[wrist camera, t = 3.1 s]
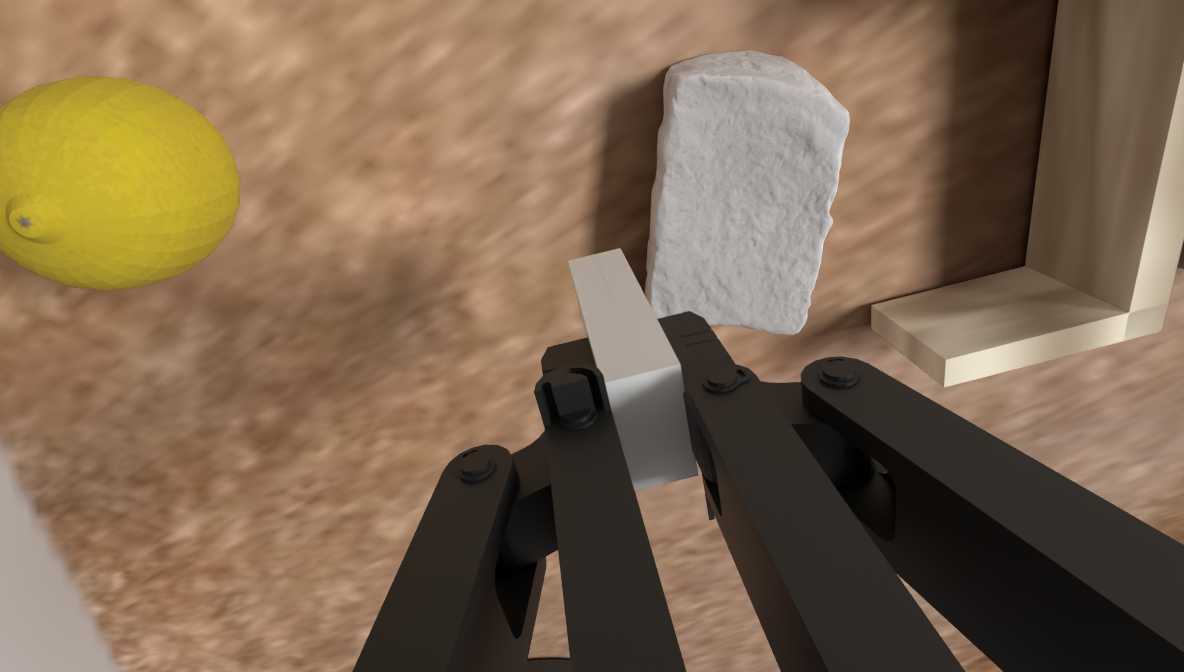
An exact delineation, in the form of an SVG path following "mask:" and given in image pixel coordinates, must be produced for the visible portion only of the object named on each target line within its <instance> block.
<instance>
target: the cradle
mask: <svg viewBox="0 0 1184 672" xmlns="http://www.w3.org/2000/svg"><path fill="white" fill-rule="evenodd" d="M1183 240H1184V0H1059V1H1058V9H1057V17H1056V25H1055V33H1054V41H1053V49H1052V57H1051V65H1050V73H1049V81H1048V88H1047V96H1046V104H1045V112H1044V120H1043V128H1042V136H1041V144H1040V152H1039V160H1038V168H1037V176H1036V184H1035V192H1034V200H1033V208H1032V215H1031V223H1030V231H1029V239H1028V247H1027V255H1026V263H1025V266H1024V267H1020V268H1016V269H1012V270H1008V271H1004V272H1000V273H996V274H992V275H988V276H984V277H980V278H976V279H973V280H969V281H965V282H961V283H957V284H953V285H949V286H945V287H941V288H937V289H933V290H929V291H925V292H921V293H917V294H913V295H910V296H906V297H902V298H898V299H894V300H890V301H886V302H882V303H878V304H874V305H871V330H873V331H874V332H875V333H876V334H878V335H879V336H880V337H881V338H883V339H884V340H885V341H886V342H888V343H889V344H890V345H891V346H893V347H894V348H895V349H896V350H898V351H899V352H900V353H902V354H903V355H904V356H905V357H907V358H908V359H909V360H910V361H912V362H913V363H914V364H915V365H917V366H918V367H919V368H920V369H922V370H923V371H924V372H925V373H927V374H928V375H929V376H930V377H932V378H933V379H934V380H935V381H937V382H938V383H939V384H940V385H942V386H943V387H948V386H951V385H955V384H959V383H963V382H967V381H971V380H975V379H979V378H982V377H986V376H990V375H994V374H998V373H1002V372H1006V371H1009V370H1013V369H1017V368H1021V367H1025V366H1029V365H1033V364H1036V363H1040V362H1044V361H1048V360H1052V359H1056V358H1060V357H1063V356H1067V355H1071V354H1075V353H1079V352H1083V351H1087V350H1090V349H1094V348H1098V347H1102V346H1106V345H1110V344H1114V343H1117V342H1121V341H1125V340H1129V339H1133V338H1137V337H1141V336H1145V335H1148V334H1152V333H1156V332H1160V331H1161V329H1162V325H1163V321H1164V317H1165V313H1166V309H1167V305H1168V301H1169V297H1170V293H1171V289H1172V285H1173V281H1174V277H1175V273H1176V269H1177V265H1178V261H1179V257H1180V253H1181V248H1182V244H1183Z"/></svg>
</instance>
